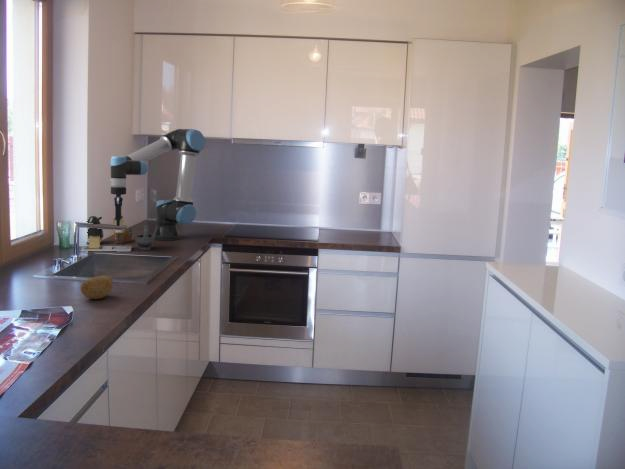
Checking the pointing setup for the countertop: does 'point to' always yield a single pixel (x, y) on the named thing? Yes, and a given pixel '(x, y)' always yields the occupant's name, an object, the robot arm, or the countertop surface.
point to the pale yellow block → (94, 242)
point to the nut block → (121, 225)
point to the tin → (123, 236)
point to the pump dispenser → (94, 230)
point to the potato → (97, 287)
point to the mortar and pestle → (144, 239)
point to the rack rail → (107, 248)
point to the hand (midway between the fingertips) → (118, 231)
